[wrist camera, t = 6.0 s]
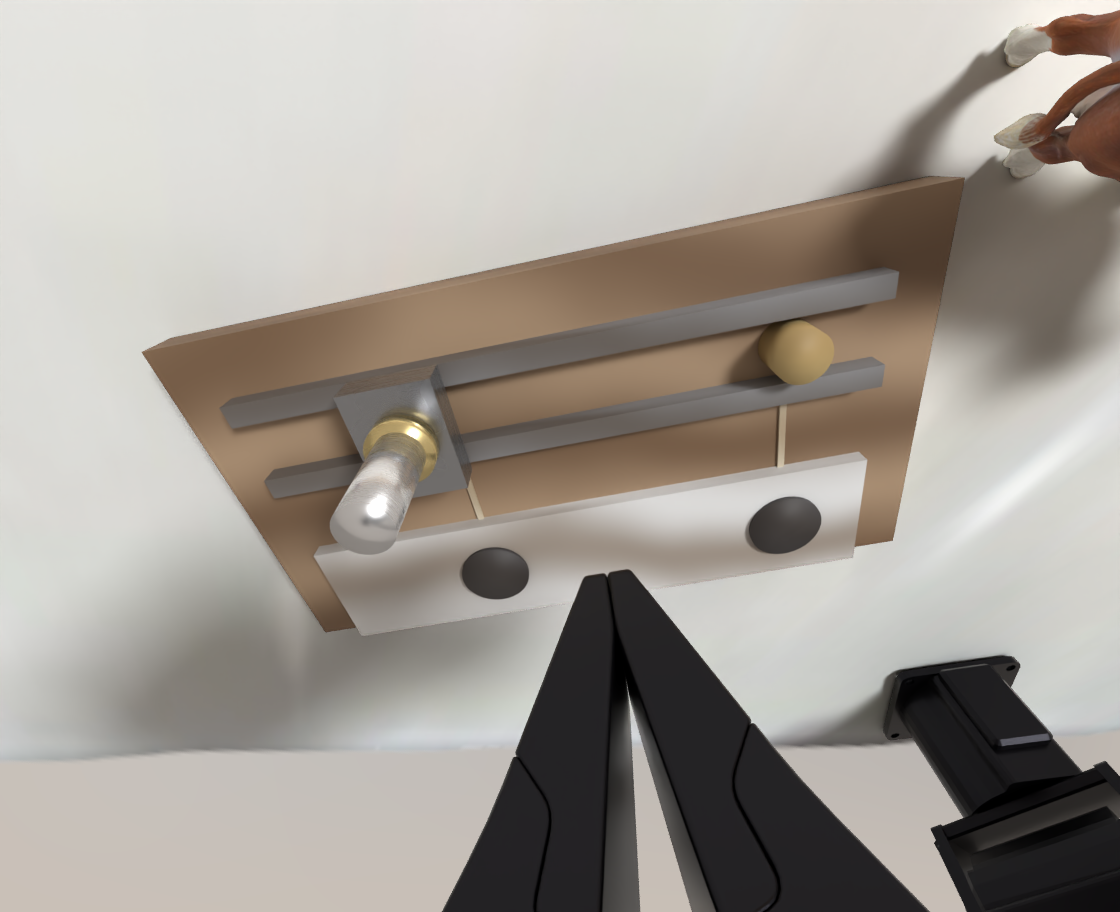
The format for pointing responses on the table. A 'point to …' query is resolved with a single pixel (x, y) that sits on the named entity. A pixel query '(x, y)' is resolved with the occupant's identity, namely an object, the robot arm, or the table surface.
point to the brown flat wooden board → (599, 409)
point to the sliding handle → (396, 454)
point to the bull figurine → (1069, 99)
